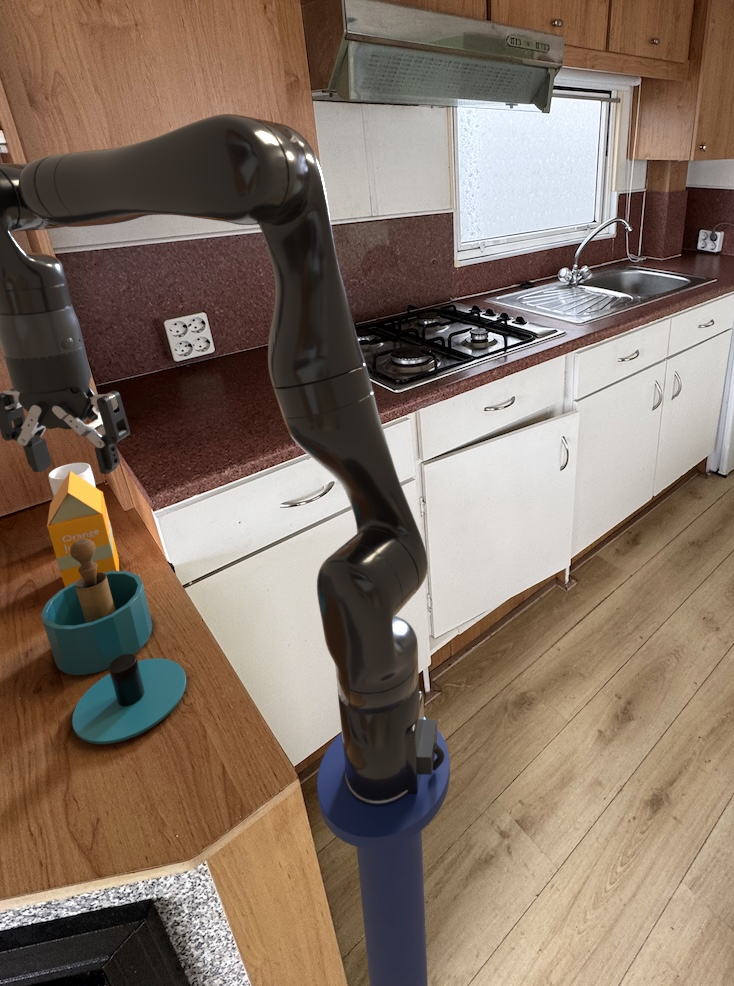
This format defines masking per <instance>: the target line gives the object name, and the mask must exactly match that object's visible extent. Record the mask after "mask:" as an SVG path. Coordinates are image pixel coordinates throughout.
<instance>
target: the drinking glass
mask: <svg viewBox="0 0 734 986" xmlns="http://www.w3.org/2000/svg"><path fill="white" fill-rule="evenodd" d="M69 471H71V472H73V473H74V474H76V475H77V476H79V477H80V478H82V479H83V480H85V481H86V482H88V483H89V484H91V485H92V486H94V487H95V488H97V487H96V480H95V476H94V473H93V470H92V467H91V465H90V464H89V463H87V462H73V463H72V462H71V463H68V464H64V465H61V466H58V467H56V468H53V470H51V471H50V472H49V473H48V480H49V485H50V489H51V492H52V496H53V498H54V497H55V495H56V493H57V492H58V490H59V488H60V486H61V485H62V483H63V481H64V480H65V478H66V476H67V474H68V473H69Z"/></svg>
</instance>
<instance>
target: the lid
mask: <svg viewBox="0 0 734 986" xmlns="http://www.w3.org/2000/svg"><path fill="white" fill-rule="evenodd" d="M108 671H109V673H108V674H106V675H104V676H103V677H102V678H101V679H99V680H98V681H96V682H94V684H93V685H91V687H90V688H89V689H88V690H87V691H86V692H85V693H84V694H83V695H82V697H81V698H80V699H79V701H78V702H77V704H76V705H75V708H74V710H73V713H72V719H71V724H72V728H73V731H74V733H75V735H76V736H77V737H78V738H79V739H81V740H82V741H84V742H86V743H89V744H95V745H110V744H115V743H120V742H123V741H126V740H129V739H132V738H134V737H137V736H139V735H141V734H143V733H146V732H147V731H149V730H150V729H152V728H153V727H155V726H156V725H158V724H159V723H160V722H162V721H163V720H164V719H166V717H167V716H168V715H170V714H171V713H172V712H173V710H174V709H175V708H176V707H177V705H178V704H179V703H180V701H181V699H182V698H183V696H184V693H185V691H186V687H187V675H186V672H185V670H184V668H183V667H182V666H181V665H180V664H179V663H178V662H176V661H174V660H171V659H167V658H161V657H160V658H159V657H158V658H156V657H155V658H147V659H142V660H141V659H140V660H138V657H137V656H136V655H135V654H124V655H121V656H119V657H117V658H116V659H114V660H113V661H112V662H111V663H110V665H109V669H108Z"/></svg>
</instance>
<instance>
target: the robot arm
mask: <svg viewBox="0 0 734 986" xmlns="http://www.w3.org/2000/svg"><path fill="white" fill-rule="evenodd" d="M319 163H320V162H319V161H318V158H317V156H316V153H315V152H314V149H313V148H312V147H311V145H310V143H309V142H308V140H307V139H306V138H305V137H304V135H302V134H301V133H300V132H298V131H297V130H296V129H294V128H292V127H290V126H288V125H286V124H283V123H279V122H275V121H273V120H272V121H271V120H266V119H261V118H256V117H251V116H246V115H241V114H234V113H233V114H232V113H222V114H217V115H213V116H208V117H205V118H203V119H199V120H197V121H193V122H191V123H188V124H186V125H183V126H181V127H178V128H176V129H174V130H171V131H169V132H166V133H164V134H161V135H159V136H156V137H153V138H150V139H149V138H148V139H147V140H143V141H139V142H135V143H133V144H129V145H125V146H119V147H111V148H101V149H92V150H91V149H90V150H84V151H74V152H66V153H60V154H54V155H53V154H52V155H48V156H43V157H40V158H37V159H34V160H32V161H30V162H29V163H10V162H9V163H6V162H5V163H3V162H1V163H0V348H1V351H2V354H3V358H4V362H5V365H6V369H7V372H8V377H9V379H10V382H11V386H12V388H9V389H6V390H4V391H2V392H0V434H1V438H2V439H3V440H4V441H7V442H9V441H12V440H13V441H15V442H17V443H18V445H20V446H21V447H23V450H24V453H25V456H26V461H27V464H28V465H29V467H30V468H31V470H32V472H34V473H42V472H44V471H46V470H47V469H49V468H50V467H51V466H52V458H51V455H50V452H49V448H48V443H47V439H46V438H42V437H43V436H44V434H45V432H46V430H53V429H54V430H55V429H63V430H73V431H74V432H75V433H76V434H77V435H79V436H80V437H85V438H86V439H87V440H88V441H89V442H90V443H92V444H93V445H94V447H95V448H94V453H95V456H96V461H97V465H98V469H99V473H100V474H101V475H109V474H111V473H112V472H113V471H115V470H116V469H117V468H118V466H119V465H120V461H121V460H120V457H119V456H120V455H119V451H118V448H117V443H118V442H120V441H122V440H123V439H124V438H126V437H127V436H129V435H130V434H131V430H130V426H129V422H128V419H127V415H126V412H125V408H124V405H123V401H122V398H121V394H120V392H118V391H117V390H111V391H109V392H107V393H102V394H95V392H94V391H93V389H92V388H91V385H90V382H91V378H92V372H91V367H90V363H89V360H88V355H87V351H86V347H85V342H84V337H83V333H82V329H81V325H80V322H79V318H78V317H77V314H76V312H75V309H74V306H73V302H72V298H71V293H70V289H69V284H68V282H67V275H66V272H65V269H64V266H63V264H62V262H61V261H60V260H59V258H58V257H56V256H53V255H51V254H47V253H40V252H29V251H28V252H27V251H25V250H24V249H23V248H22V247H21V246H20V245H19V244H18V242H17V241H16V239H15V237H14V236H13V234H12V233H19V232H20V233H21V232H32V231H45V230H54V229H61V228H81V227H82V228H83V227H94V226H106V225H114V224H115V225H116V224H120V223H126V222H131V221H133V220H137V219H139V218H142V217H148V216H161V215H162V216H163V215H164V216H166V215H167V216H180V217H189V218H195V219H204V220H211V221H218V222H225V223H230V224H234V225H239V226H257V225H258V226H259V229H260V230H261V233H262V237H263V240H264V242H265V246H266V250H267V253H268V257H269V260H270V263H271V269H272V273H273V281H274V296H273V297H274V299H273V301H274V302H273V308H272V315H271V320H270V321H271V322H270V328H269V329H270V330H269V336H268V345H267V368H268V374H269V378H270V383H271V386H272V389H273V393H274V396H275V398H276V403H277V405H278V408H279V412H280V414H281V418H282V420H283V423H284V424H285V428H286V430H287V432H288V434H289V436H290V437H291V438H292V440H293V441H294V442H295V443H296V445H298V447H299V448H300V449H301V450H302V451H303V452H305V453H306V454H307V456H309V457H310V458H311V459H313V460H314V462H316V463H317V464H318V465H320V466H321V467H322V468H323V469H325V470H326V471H327V472H328V473H330V474H331V475H332V477H334V478H335V479H336V481H337V482H338V483H339V484H340V486H341V487H342V488H343V491H344V492H345V494H346V496H347V499H348V501H349V505H350V508H351V511H352V513H353V517H354V521H355V527H356V534H355V535H353V536H352V537H350V539H348V540H347V541H346V542H345V543H343V544H342V545H341V546H340V547H339V548H338V549H337V550H335V551H333V553H331V555H329V556H328V557H327V558H326V559H325V560H324V561H323V562H322V563H321V565H320V567H319V569H318V572H317V576H316V595H317V601H318V609H319V613H320V618H321V619H320V620H321V625H322V631H323V635H324V642H325V645H326V649H327V651H328V653H329V655H330V657H331V659H332V662H333V663H334V667H335V669H334V670H335V677H336V678H335V679H336V688H337V698H338V708H339V709H338V710H339V717H340V726H341V727H340V729H341V730H340V731H341V733H342V740H343V750H344V759H345V778H346V784H347V787H348V789H349V791H350V793H351V794H352V795H353V796H354V797H355V798H356V799H357V800H358V801H360V802H362V803H364V804H367V805H371V806H385V805H389V804H392V803H395V802H397V801H399V800H401V799H402V798H404V797H405V796H406V795H408V794H417V793H418V788H419V782H420V776H421V774H423V775H432V770H436V769H437V768H438V767H439V766H440V765H441V764H442V763H443V760H444V752H443V750H442V749H441V748H440V746H439V745H438V744H437V743H436V742H437V729H438V720H437V719H427V718H426V717H425V704H424V702H425V701H424V700H425V699H424V692H423V691H421V690H420V675H419V674H420V673H419V643H418V637H417V634H416V631H415V629H414V628H413V627H412V625H411V624H410V623H409V622H408V621H407V620H405V619H404V618H402V617H400V616H396V615H397V614H398V613H399V612H400V611H401V610H402V609H403V608H404V607H405V606H406V604H407V603H408V602H409V601H410V600H411V599H412V598H413V596H414V595H415V594H416V593H418V591H419V589H420V588H421V587H422V586H423V584H424V582H425V580H426V578H427V574H428V568H429V565H428V564H429V563H428V562H429V561H428V556H427V551H426V546H425V544H424V541H423V538H422V535H421V532H420V529H419V526H418V525H417V522H416V519H415V517H414V514H413V512H412V510H411V507H410V505H409V502H408V499H407V497H406V495H405V492H404V489H403V487H402V484H401V481H400V479H399V476H398V473H397V471H396V466H395V463H394V460H393V457H392V454H391V450H390V447H389V444H388V441H387V440H388V439H387V437H386V434H385V431H384V427H383V424H382V421H381V418H380V414H379V409H378V405H377V402H376V396H375V392H374V387H373V386H372V382H371V377H370V374H369V370H368V367H367V363H366V360H365V356H364V353H363V350H362V347H361V344H360V340H359V338H358V335H357V330H356V327H355V323H354V320H353V315H352V311H351V307H350V303H349V300H348V295H347V292H346V288H345V285H344V281H343V278H342V273H341V270H340V266H339V265H340V264H339V261H338V256H337V250H336V246H335V239H334V233H333V229H332V222H331V216H330V208H329V204H328V197H327V192H326V188H325V182H324V177H323V174H322V169H321V165H320V164H319ZM24 410H25V411H26V412H27V413H28V414H27V416H25V411H24ZM88 419H89V420H90V421H91V422H90V423H86V421H87V420H88ZM435 754H436V755H437V758H436V759H435V760H434V756H435Z"/></svg>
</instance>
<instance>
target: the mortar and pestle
mask: <svg viewBox="0 0 734 986" xmlns="http://www.w3.org/2000/svg"><path fill="white" fill-rule="evenodd" d="M95 549H96V547H95V544H94V542H93V541H91V540H89V539H80V540H78V541H76V542H74V543H73V545H72V546H71V549H70V554H71V556H72V557H73V558H74V559H75V560H77V561H78V562H80V564H81V566H80V567H79V569H78V571H79V573H80V575H81V576H82V578H80V579H79V580H78V581H77V582H76V584H75V587H76V591H77V594H78V597H79V601H80V604H81V608H82V611H83V615H84V618H85V621H86V623H90V622H93V621H96V620H98V619H101V618H103V617H106V616H108V615H110V614H112V613H114V612H115V611H116V610H115V606H114V603H113V599H112V596H111V592H110V588H109V584H108V580H107V576H106V574H105V573H102V572H97V564H96V563H94V562H93V561H92V557H93V555H94V552H95Z"/></svg>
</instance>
